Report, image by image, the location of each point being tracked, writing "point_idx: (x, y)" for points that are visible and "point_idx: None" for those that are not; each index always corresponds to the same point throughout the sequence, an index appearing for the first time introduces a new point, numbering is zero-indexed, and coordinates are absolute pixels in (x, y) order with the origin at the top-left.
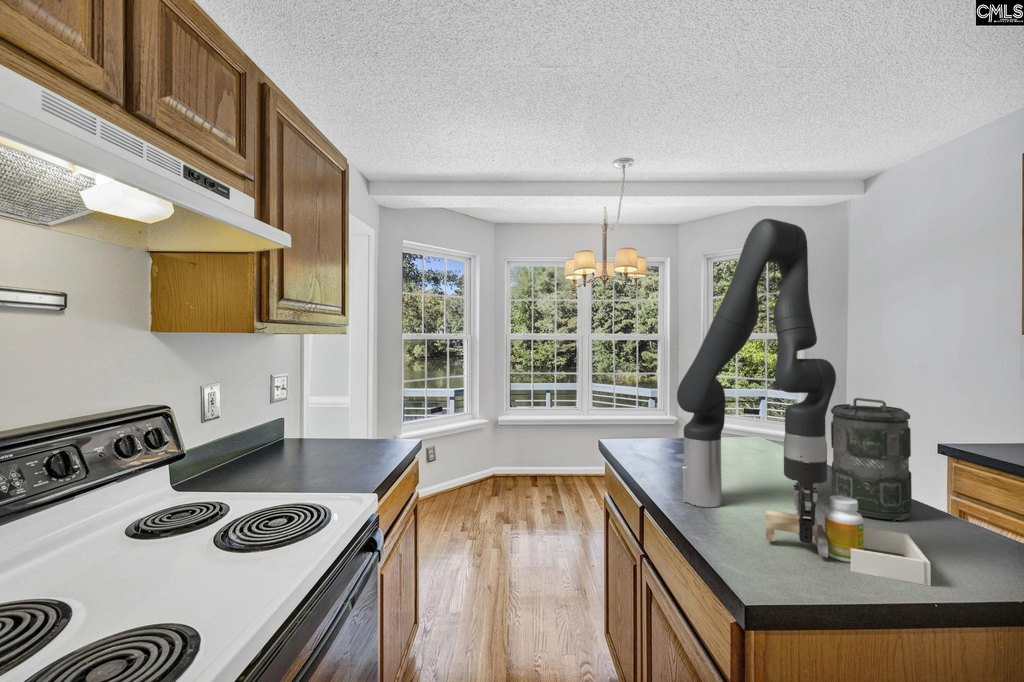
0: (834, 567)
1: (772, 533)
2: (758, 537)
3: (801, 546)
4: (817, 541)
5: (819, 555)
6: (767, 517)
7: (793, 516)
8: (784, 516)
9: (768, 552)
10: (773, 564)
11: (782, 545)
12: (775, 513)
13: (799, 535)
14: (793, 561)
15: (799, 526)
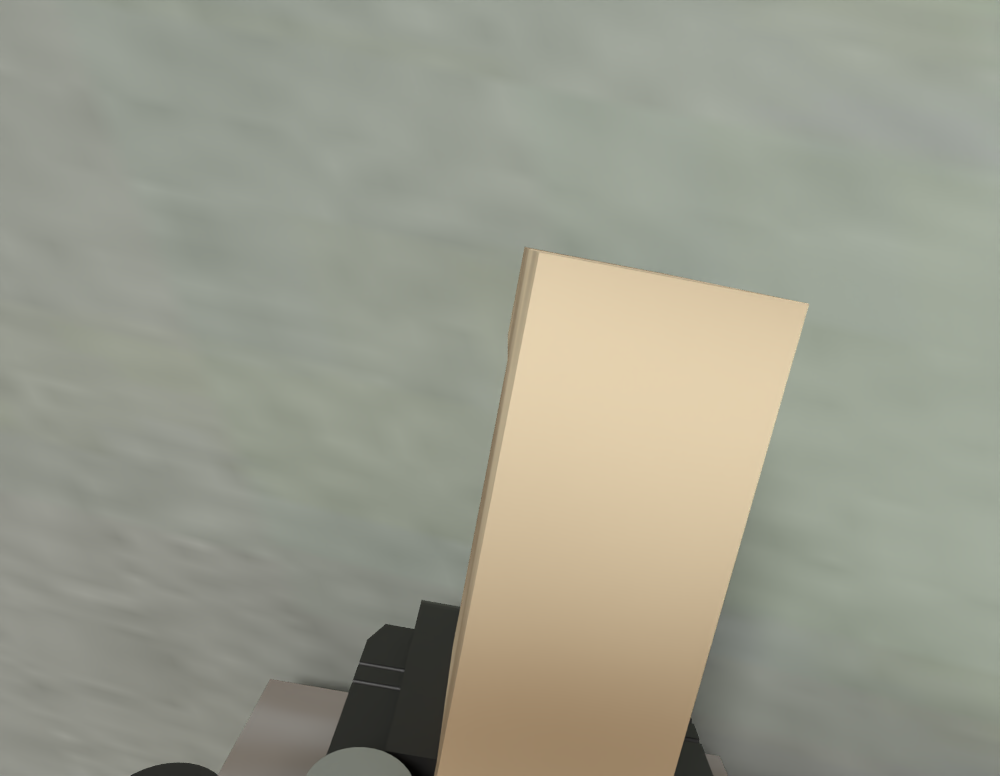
0: (195, 725)
1: (512, 326)
2: (722, 201)
3: None
4: None
5: (270, 683)
6: (531, 275)
7: (535, 755)
8: (490, 598)
9: (321, 227)
10: (32, 213)
11: None
12: (624, 464)
13: (437, 632)
14: (186, 425)
15: (414, 717)
